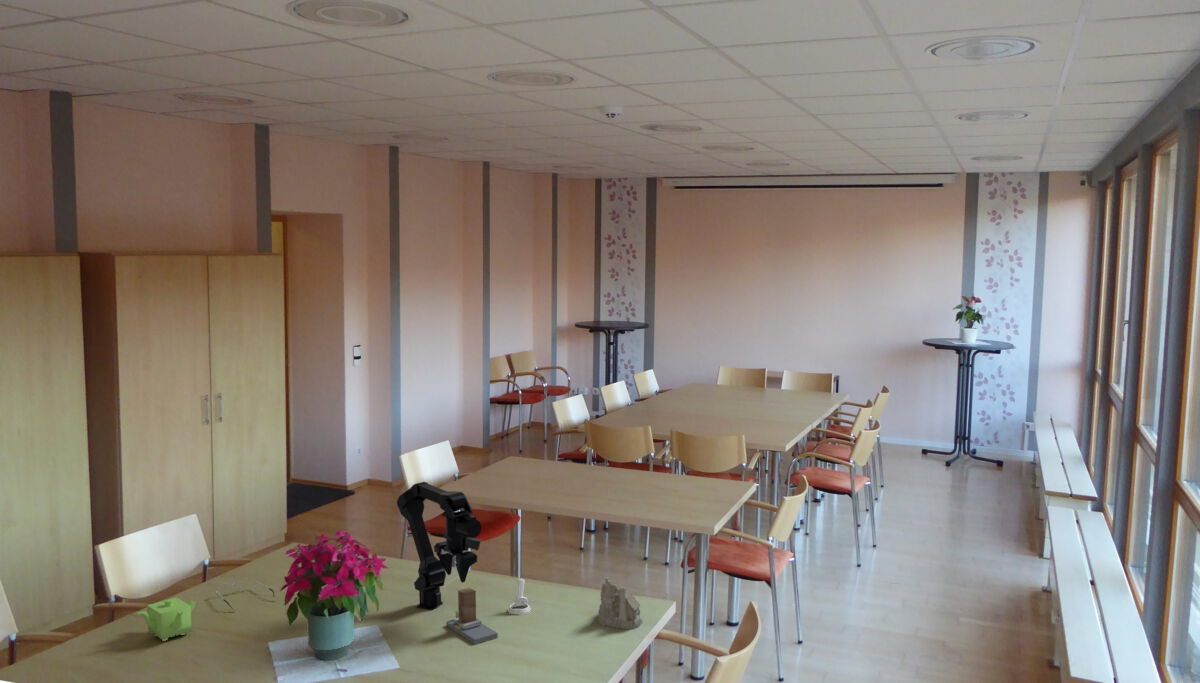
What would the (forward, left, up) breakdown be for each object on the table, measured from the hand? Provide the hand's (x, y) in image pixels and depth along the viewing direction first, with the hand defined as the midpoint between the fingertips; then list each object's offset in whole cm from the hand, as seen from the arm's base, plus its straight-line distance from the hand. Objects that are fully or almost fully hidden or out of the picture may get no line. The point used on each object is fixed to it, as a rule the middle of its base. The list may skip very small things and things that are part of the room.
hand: (456, 578), depth 298 cm
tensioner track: (+11, -8, -13) cm, 19 cm away
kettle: (-75, -48, -13) cm, 90 cm away
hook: (+16, +13, -13) cm, 25 cm away
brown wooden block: (+8, -7, -11) cm, 16 cm away
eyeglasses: (-76, -16, -14) cm, 79 cm away
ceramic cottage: (+50, +20, -13) cm, 56 cm away
